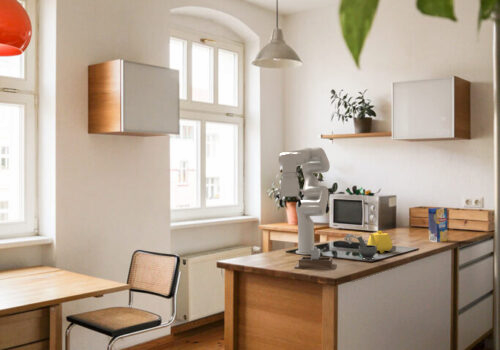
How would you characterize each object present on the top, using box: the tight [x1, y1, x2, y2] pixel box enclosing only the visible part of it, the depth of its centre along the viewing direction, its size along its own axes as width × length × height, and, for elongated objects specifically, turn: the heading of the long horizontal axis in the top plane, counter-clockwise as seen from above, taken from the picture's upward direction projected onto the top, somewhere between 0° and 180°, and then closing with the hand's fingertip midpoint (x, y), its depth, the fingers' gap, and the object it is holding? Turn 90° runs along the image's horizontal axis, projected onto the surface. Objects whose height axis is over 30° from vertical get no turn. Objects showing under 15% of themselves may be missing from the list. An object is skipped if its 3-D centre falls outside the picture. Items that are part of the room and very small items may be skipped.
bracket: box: [344, 233, 368, 245], centre depth 338 cm, size 3×21×10 cm, turn 49°
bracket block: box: [310, 245, 321, 260], centre depth 263 cm, size 6×4×9 cm, turn 167°
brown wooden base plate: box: [294, 256, 337, 270], centre depth 263 cm, size 12×20×4 cm, turn 77°
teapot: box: [366, 230, 393, 254], centre depth 306 cm, size 13×20×12 cm
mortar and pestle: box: [356, 236, 378, 259], centre depth 284 cm, size 11×9×12 cm
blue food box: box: [427, 207, 448, 243], centre depth 348 cm, size 7×11×22 cm, turn 124°
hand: (290, 207), depth 282 cm, fingers open, 9 cm apart
